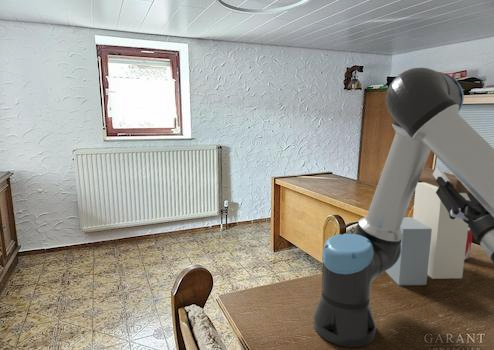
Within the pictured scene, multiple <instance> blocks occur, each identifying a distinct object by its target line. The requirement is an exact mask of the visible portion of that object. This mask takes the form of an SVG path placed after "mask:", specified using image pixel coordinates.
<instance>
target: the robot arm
mask: <svg viewBox="0 0 494 350" xmlns="http://www.w3.org/2000/svg"><path fill="white" fill-rule="evenodd" d="M464 97H465V95H464V90H463V88H462V86H461V84H460V83H459V81H458V80H457V79H456V78H455V77H453V76H452V75H450V74H449V73H448V74H447V73H445V72H444V73H443V72H440V71H437V70H434V69H431V68H428V67H413V68H410V69H407V70H405V71H403V72H401V73H400V74H398V75H397V76H396V77H395V78H393V80H392V82H391V83H390V84H389V86H388V88H387V90H386V96H385V104H386V108H387V112H388V113H389V114H390V116H391V117H392V118H393V120H392V123H391V126H392V128H393V129H394V131H395V135H394V137H393V140H392V143H391V145H390V149H389V151H388V154H387V158H386V160H385V162H384V166H383V169H382V171H381V174H380V177H379V180H378V183H377V185H376V188H375V191H374V195H373V197H372V200H371V203H370V206H369V209H368V211H367V214H366V216H364V217H361V218H360V219H358V222H357V224H356V227H355V231H354V233H348V232H346V233H343V234H341V233H338V234H335V235H333V236H330V237H329V238H327V239H326V241H325V242H324V244H323V249H322V250H323V251H322V254H321V255H322V256H321V260H322V267H321V268H322V269H321V270H322V271H321V296H320V299H319V301H318V303H317V305H316V308H315V310H314V313H313V326H314V327H313V328H314V330H315V331H316V333H317V334H318V335H319V336H320V337H321V338H323V339H324V340H326V341H327V342H328V343H331V344H333V345H336V346H339V347H340V346H341V347H343V348H362V347H365V346H368V345H370V344H371V343H372V342H373V341H374V340H375V337H376V329H377V328H376V322H375V318H374V314H373V311H372V308H371V304H370V302H371V299H370V298H371V288H372V282H373V281H375V279H377V278H378V277H379V276H381V274H383V273H386V272H385V271H386V270H387V269H389V268H391V267H392V266H393V265H394V264H395V263H396V262H397V261H398V259H399V257H400V254H401V241H402V238H403V234H402V232H401V230H400V226H401V223H402V221H403V218H404V217H406V212H407V211H408V208H409V206H410V203H411V201H412V198H413V196H414V194H415V188H416V186H417V183H419V182H420V181H419V178H420V176H421V173H422V171H423V168H424V167H425V165H426V164H427V161H428V158H429V155H430V153H431V152H432V154H434V156H436V157H437V159H438V160H439V161H441V163H442V164H444V165H443V166H445V167H446V168H447V170H449V172H448V173H449V174H453V175H454V176H455V177H456V178H457V179H458V180H459V181H460V182H461V183H462V184H463V185H464V186H465V187H466V188H467V189H468V191H469V192H470V193H467V195H468V197H469V199H470V201H469V200H466V199H465V198H464V197H463V196H462V195H460V194H459V193H458V192H457V191H456V190H455V189H454V188H453V187H452V186H451V185H450V184H451V181H450V180H449V179H448V178H447V176H446V175H445V174H444V173H443V172H444V171H443V170H442V169H441V167H439V166H436V167H435V169H434V170H435V171H434V172H433V176H434V177H435V178H436V182H437V184H438V185H439V187H438V189H437V191H436V194H437V195H438V197H439V198H440V200H441V201H442V203H443V204H444V206H445V208H446V209H447V211H448V212H449V217H450V218H451V219H455V218H456V217H457V218H461V219H463V221H464V222H466V223H467V224H468V227H469V228H470V232H471V233H472V237H473V238H474V239H475V241H476V242H477V243H478V244H479V245H480V246H481V248H482V250H483V251H484V252H485V254H486V255H487V257H488V258H489V259H490V261H491V262H492V263H493V264H494V147H493V146H492V145H491V144H490V143H488V142H487V140H485V139H484V137H482V136H481V134H479V133H478V131H476V130H475V129H474V128H473V127H472V125H470V124H469V123H468V122H467V121H466V120H465V119H464V118H463V117H462V116H461V115H460V114H459V112H460V111H461V109H462V107H463V103H464V100H465V99H464Z"/></svg>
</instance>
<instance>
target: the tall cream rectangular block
mask: <svg viewBox="0 0 494 350" xmlns="http://www.w3.org/2000/svg"><path fill="white" fill-rule="evenodd" d="M437 189H438V187H437V186H434V185H431V184H428V183H425V182H422V181H418V183H417V186H416V188H415V191H414V202H413V213H412V218H414V219H416V220H417V221H419V222H421V223H423V224H424V225H426V226H428V227H430V228H431V229H432V233H431V243H430V253H429V263H428V273H427V276H429V277H430V278H431V279H434V280H436V279H438V280H441V279H443V280H446V279H463V276H464V275H463V273H464V268H465V267H464V265H465V260H464V258H465V250H466V242H467V233H468V227H469V225H468V224H467V223H466V222H464V221H463V219H461V218H457V217H456V218H455V219H451V218H450V217H449V212H448V211H447V209H446V208H445V206H444V204H443V203H442V201H441V200H440V198H439V197H438V195H437V194H436V191H437ZM459 194H460V195H462V196H463V197H464V198H465V199H466V200H469V201H470V199H469V197H468V195H467V193H459Z"/></svg>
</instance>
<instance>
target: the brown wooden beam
mask: <svg viewBox="0 0 494 350" xmlns="http://www.w3.org/2000/svg"><path fill="white" fill-rule="evenodd" d="M434 171H435V169H433V168H430V167H425V166H424V168H423V171H422V173H421V176H420V178H419V181H418V182H425V183H428V184H431V185H434V186H437V187H439V185H438V184H437V182H436V178H435V177H434V176H433V172H434ZM443 173H444V174H445V175H446V176H447V178H448V179H449V180H450V181H451V184H450V185H451V186H452V187H453V188H454V189H455V190H456V191H457V192H458V193H470V192H469V191H468V189H467V188H466V187H465V186H464V185H463V184H462V183H461V182H460V181H459V180H458V179H457V178H456V177H455V176H454V175H453V174H449V173H450V172H445V171H443Z"/></svg>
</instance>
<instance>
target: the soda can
mask: <svg viewBox="0 0 494 350" xmlns="http://www.w3.org/2000/svg"><path fill="white" fill-rule="evenodd" d="M472 240H473V235H472V233H471V232H470V228H469V226H468V233H467V242H466V250H465V258H464V261H465V260H468V259H469V258H470V255H471V248H472Z"/></svg>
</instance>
